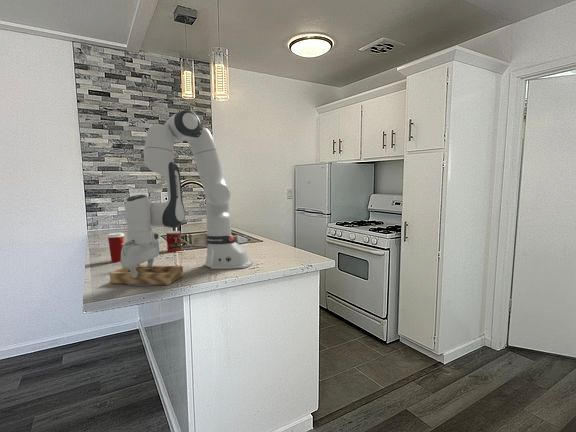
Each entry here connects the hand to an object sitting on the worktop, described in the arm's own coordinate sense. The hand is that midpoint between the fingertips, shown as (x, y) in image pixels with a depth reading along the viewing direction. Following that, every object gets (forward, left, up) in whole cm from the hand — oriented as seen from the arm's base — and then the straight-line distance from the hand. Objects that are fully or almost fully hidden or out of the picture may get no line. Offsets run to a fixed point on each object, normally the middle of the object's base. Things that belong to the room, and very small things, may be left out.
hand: (142, 273), depth 124 cm
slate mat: (+1, -5, -4) cm, 7 cm away
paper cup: (+36, -34, -4) cm, 50 cm away
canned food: (+19, -60, -4) cm, 63 cm away
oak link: (+1, -5, -4) cm, 6 cm away
